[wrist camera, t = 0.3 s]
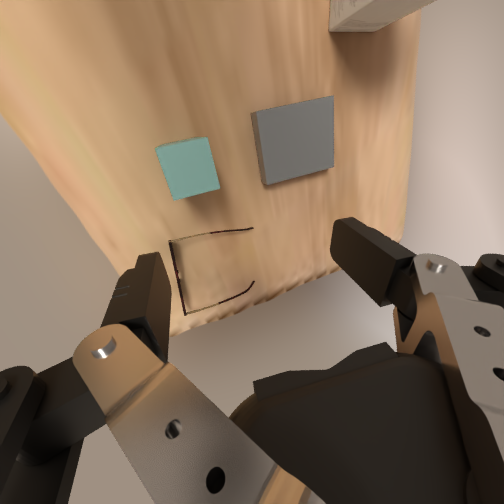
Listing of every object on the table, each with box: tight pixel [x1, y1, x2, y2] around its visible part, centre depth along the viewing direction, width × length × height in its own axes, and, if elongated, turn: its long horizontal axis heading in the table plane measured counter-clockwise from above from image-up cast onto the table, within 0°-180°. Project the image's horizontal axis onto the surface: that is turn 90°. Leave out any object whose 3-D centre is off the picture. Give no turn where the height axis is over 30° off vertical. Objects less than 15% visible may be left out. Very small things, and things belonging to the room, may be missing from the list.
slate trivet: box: [251, 95, 334, 185], centre depth 35 cm, size 10×12×2 cm
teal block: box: [155, 137, 220, 201], centre depth 28 cm, size 5×5×12 cm
